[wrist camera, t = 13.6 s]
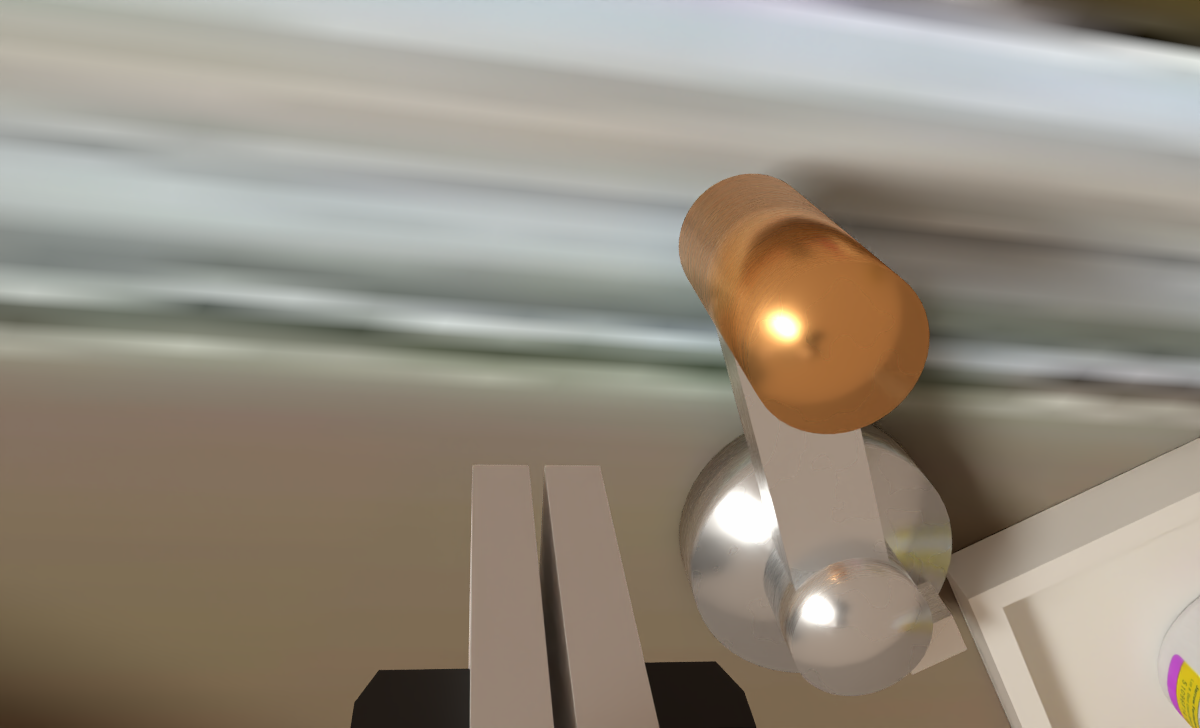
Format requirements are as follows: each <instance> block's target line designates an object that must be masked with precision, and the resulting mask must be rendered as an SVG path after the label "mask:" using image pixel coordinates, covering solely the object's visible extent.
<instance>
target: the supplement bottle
mask: <svg viewBox="0 0 1200 728" xmlns="http://www.w3.org/2000/svg"><path fill="white" fill-rule="evenodd" d="M1158 678H1159V682H1160V685H1161V688H1162V690H1163V692H1164V694H1165V696H1166V697H1167V699H1168V700H1169V702H1170V703H1171V704H1172V706H1173V707H1174V708H1175V709H1176V710H1177V711H1178V713H1179V714H1180V715H1181V716H1182V717H1183V718H1184V719H1185V720H1186V721H1187V723H1188V724H1189V725H1190V726H1191V727H1192V728H1200V597H1199V598H1198V599H1196V600H1195V601H1194V602H1193V603H1191V604H1190V605H1189V606H1188V607H1187V608H1186V609H1185V610H1184V611H1183V612H1182V613H1181V614H1180V615H1179V617H1178V618H1177V619H1176V620H1175V621H1174V623H1173V624H1172V626H1171V627H1170V629H1169V630H1168V632H1167V634H1166V635H1165V637H1164V639H1163V642H1162V644H1161V647H1160V651H1159V656H1158Z"/></svg>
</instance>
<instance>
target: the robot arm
mask: <svg viewBox="0 0 1200 728" xmlns="http://www.w3.org/2000/svg"><path fill="white" fill-rule="evenodd" d="M351 728H756V725H755V722H754V719H753V716H752V713H751V710H750V707H749V705H748V702H747V699H746V696H745V693H744V691H743V690H742V689H741V688H740V687H739V686H738V685H737V684H736V683H735V682H734V680H733V679H732V678H731V677H730V676H729V675H728V674H727V673H726V672H725V671H724V670H723V669H722V668H721V667H720V666H719V665H718V664H717V663H716V662H659V663H645V662H644V658H643V653H642V649H641V645H640V640H639V636H638V631H637V627H636V623H635V618H634V614H633V609H632V605H631V601H630V596H629V592H628V587H627V583H626V579H625V574H624V570H623V565H622V561H621V557H620V552H619V548H618V543H617V539H616V535H615V530H614V526H613V521H612V517H611V513H610V508H609V504H608V499H607V495H606V491H605V486H604V482H603V477H602V473H601V469H600V466H596V465H545V466H544V486H543V506H542V526H541V547H540V567H539V566H538V556H537V545H536V535H535V525H534V514H533V504H532V493H531V483H530V473H529V465H473V469H472V518H471V566H470V615H469V669H424V670H379V671H378V672H377V674H376V675H375V676H374V677H373V679H372V680H371V681H370V683H369V684H368V685H367V687H366V688H365V689H364V691H363V692H362V693H361V695H360V696H359V697H358V699H357V700H356V701H355V703H354V709H353V716H352V722H351Z"/></svg>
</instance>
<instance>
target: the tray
mask: <svg viewBox="0 0 1200 728" xmlns="http://www.w3.org/2000/svg"><path fill="white" fill-rule="evenodd" d="M946 576H947V579H948V581H949V583H950V586H951V588H952V590H953V593H954V595H955V597H956V600H957V602H958V604H959V607H960V609H961V611H962V614H963V616H964V618H965V621H966V623H967V625H968V628H969V630H970V632H971V635H972V637H973V639H974V642H975V644H976V646H977V649H978V651H979V653H980V656H981V658H982V660H983V663H984V665H985V667H986V670H987V672H988V674H989V677H990V679H991V681H992V684H993V686H994V688H995V691H996V693H997V695H998V697H999V700H1000V702H1001V704H1002V707H1003V709H1004V711H1005V714H1006V716H1007V718H1008V721H1009V723H1010V725H1011V728H1192V727H1191V726H1190V725H1189V724H1188V723H1187V721H1186V720H1185V719H1184V718H1183V717H1182V716H1181V715H1180V714H1179V713H1178V711H1177V710H1176V709H1175V708H1174V707H1173V706H1172V704H1171V703H1170V702H1169V700H1168V699H1167V697H1166V696H1165V694H1164V692H1163V690H1162V688H1161V685H1160V682H1159V678H1158V656H1159V651H1160V647H1161V644H1162V642H1163V639H1164V637H1165V635H1166V634H1167V632H1168V630H1169V629H1170V627H1171V626H1172V624H1173V623H1174V621H1175V620H1176V619H1177V618H1178V617H1179V615H1180V614H1181V613H1182V612H1183V611H1184V610H1185V609H1186V608H1187V607H1188V606H1189V605H1190V604H1191V603H1193V602H1194V601H1195V600H1196V599H1198V598H1199V597H1200V438H1198V439H1196V440H1193V441H1191V442H1189V443H1187V444H1185V445H1183V446H1181V447H1179V448H1176V449H1174V450H1172V451H1170V452H1168V453H1166V454H1164V455H1162V456H1159V457H1157V458H1155V459H1153V460H1151V461H1149V462H1147V463H1145V464H1142V465H1140V466H1138V467H1136V468H1134V469H1132V470H1130V471H1128V472H1125V473H1123V474H1121V475H1119V476H1117V477H1115V478H1113V479H1111V480H1108V481H1106V482H1104V483H1102V484H1100V485H1098V486H1096V487H1094V488H1091V489H1089V490H1087V491H1085V492H1083V493H1081V494H1079V495H1077V496H1074V497H1072V498H1070V499H1068V500H1066V501H1064V502H1062V503H1060V504H1057V505H1055V506H1053V507H1051V508H1049V509H1047V510H1045V511H1043V512H1040V513H1038V514H1036V515H1034V516H1032V517H1030V518H1028V519H1026V520H1023V521H1021V522H1019V523H1017V524H1015V525H1013V526H1011V527H1009V528H1006V529H1004V530H1002V531H1000V532H998V533H996V534H994V535H992V536H989V537H987V538H985V539H983V540H981V541H979V542H977V543H975V544H972V545H970V546H968V547H966V548H964V549H962V550H960V551H958V552H955V553H953V554H951V559H950V565H949V568H948V572H947V575H946Z"/></svg>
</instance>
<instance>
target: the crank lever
mask: <svg viewBox="0 0 1200 728" xmlns="http://www.w3.org/2000/svg"><path fill="white" fill-rule="evenodd" d="M679 255H680V260H681V264H682V267H683V270H684V272H685V274H686V276H687V278H688V280H689V282H690V283H691V285H692V287H693V288H694V290H695V292H696V293H697V295H698V297H699V298H700V300H701V302H702V303H703V305H704V307H705V308H706V310H707V312H708V313H709V315H710V317H711V318H712V320H713V322H714V324H715V325H716V329H717V333H718V337H719V341H720V344H721V348H722V352H723V356H724V359H725V363H726V367H727V371H728V374H729V378H730V382H731V386H732V389H733V393H734V397H735V401H736V404H737V408H738V412H739V416H740V419H741V423H742V427H743V431H744V434H745V438H746V442H747V446H748V450H749V453H750V457H751V461H752V465H753V468H754V472H755V476H756V480H757V483H758V487H759V491H760V495H761V498H762V502H763V506H764V510H765V513H766V517H767V521H768V525H769V528H770V532H771V536H772V540H773V543H774V547H775V548H774V549H773V550H772V552H771V554H770V556H769V558H768V560H767V562H766V566H765V569H764V576H763V585H764V591H765V594H766V597H767V600H768V602H769V604H770V606H771V609H772V611H773V613H774V616H775V618H776V620H777V623H778V625H779V627H780V630H781V632H782V634H783V637H784V639H785V641H786V644H787V646H788V648H789V651H790V653H791V655H792V658H793V660H794V662H795V664H796V667H797V668H798V670H799V672H800V673H801V675H802V676H803V677H804V678H805V679H806V680H807V681H808V682H809V683H810V684H812V685H813V686H815V687H816V688H818V689H820V690H822V691H825V692H828V693H831V694H836V695H842V696H859V695H865V694H870V693H874V692H877V691H880V690H883V689H885V688H887V687H889V686H891V685H893V684H895V683H897V682H898V681H900V680H901V679H903V678H904V677H905V676H907V675H908V674H909V673H910V672H911V671H912V670H913V669H914V668H915V667H916V666H917V665H918V663H919V662H920V661H921V659H922V658H923V656H924V655H925V653H926V651H927V649H928V647H929V644H930V641H931V638H932V633H933V618H932V614H931V610H930V607H929V605H928V603H927V601H926V600H925V598H924V597H923V595H922V594H921V592H920V591H919V589H918V588H917V586H916V585H915V583H914V582H913V580H912V579H911V577H910V576H909V574H908V573H907V571H906V570H905V568H904V567H903V565H902V564H901V562H900V561H899V559H898V558H897V556H896V555H895V553H894V552H893V550H892V549H891V547H890V546H889V544H888V543H887V541H886V540H885V538H884V535H883V531H882V526H881V521H880V517H879V512H878V507H877V503H876V498H875V493H874V489H873V484H872V479H871V475H870V470H869V465H868V461H867V456H866V451H865V447H864V442H863V437H862V433H861V428H863V427H865V426H868V425H870V424H872V423H874V422H876V421H878V420H879V419H881V418H882V417H884V416H885V415H887V414H888V413H890V412H891V411H892V410H893V409H895V408H896V407H897V406H898V405H899V404H900V403H901V402H902V401H903V400H904V399H905V398H906V397H907V395H908V394H909V393H910V391H911V390H912V389H913V387H914V386H915V384H916V382H917V381H918V379H919V377H920V375H921V373H922V370H923V368H924V365H925V362H926V359H927V355H928V349H929V335H930V334H929V324H928V320H927V316H926V312H925V310H924V307H923V305H922V302H921V301H920V299H919V298H918V296H917V294H916V293H915V292H914V290H913V289H912V288H911V287H910V286H909V285H908V284H907V283H906V282H905V281H904V280H903V279H902V278H900V277H899V276H898V275H897V274H896V273H894V272H893V271H892V270H891V269H890V268H888V267H887V266H886V265H885V264H884V263H882V262H881V261H880V260H879V259H878V258H876V257H875V256H874V255H873V254H872V253H870V252H869V251H868V250H867V249H866V248H864V247H863V246H862V245H861V244H860V243H858V242H857V241H856V240H855V239H854V238H852V237H851V236H850V235H849V234H848V233H846V232H845V231H844V230H843V229H842V228H840V227H839V226H838V225H837V224H836V223H834V222H833V221H832V220H831V219H830V218H828V217H827V216H826V215H825V214H824V213H822V212H821V211H820V210H819V209H817V208H816V207H815V206H814V205H813V204H811V203H810V202H809V201H808V200H807V199H805V198H804V197H803V196H802V195H801V194H799V193H798V192H797V191H796V190H795V189H793V188H792V187H791V186H790V185H788V184H786V183H785V182H783V181H781V180H779V179H777V178H774V177H771V176H768V175H762V174H743V175H737V176H733V177H730V178H727V179H725V180H722V181H720V182H719V183H717V184H715V185H713V186H712V187H710V188H709V189H708V190H706V191H705V192H704V193H703V194H702V195H701V196H700V197H699V198H698V199H697V200H696V201H695V203H694V204H693V205H692V207H691V208H690V210H689V211H688V213H687V215H686V217H685V219H684V222H683V225H682V228H681V232H680V237H679Z"/></svg>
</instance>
